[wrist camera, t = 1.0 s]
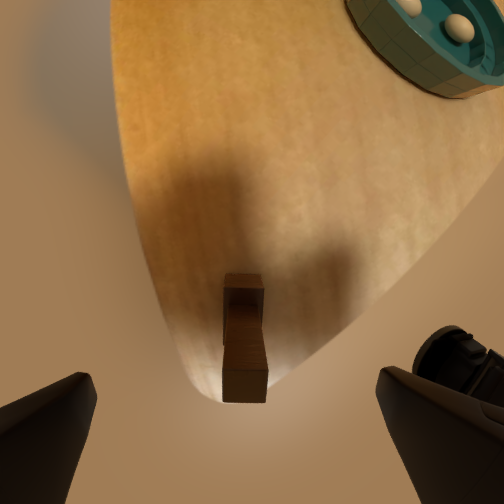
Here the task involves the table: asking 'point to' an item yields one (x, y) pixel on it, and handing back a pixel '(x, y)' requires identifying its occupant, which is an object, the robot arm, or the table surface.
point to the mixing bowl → (437, 43)
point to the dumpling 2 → (459, 28)
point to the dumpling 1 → (411, 7)
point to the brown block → (243, 340)
